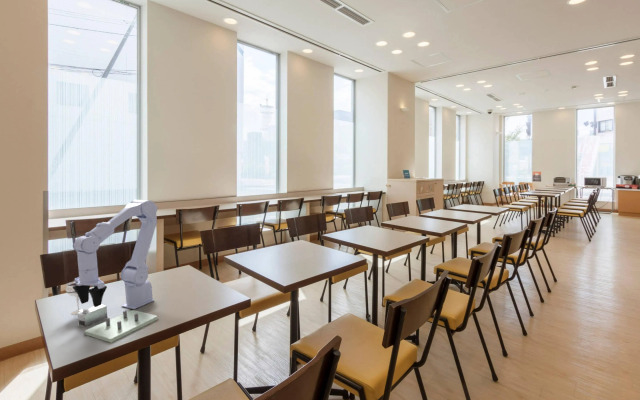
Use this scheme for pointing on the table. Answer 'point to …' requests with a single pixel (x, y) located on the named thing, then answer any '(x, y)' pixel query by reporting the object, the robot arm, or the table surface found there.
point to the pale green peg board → (120, 325)
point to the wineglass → (73, 293)
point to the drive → (92, 315)
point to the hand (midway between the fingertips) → (91, 304)
